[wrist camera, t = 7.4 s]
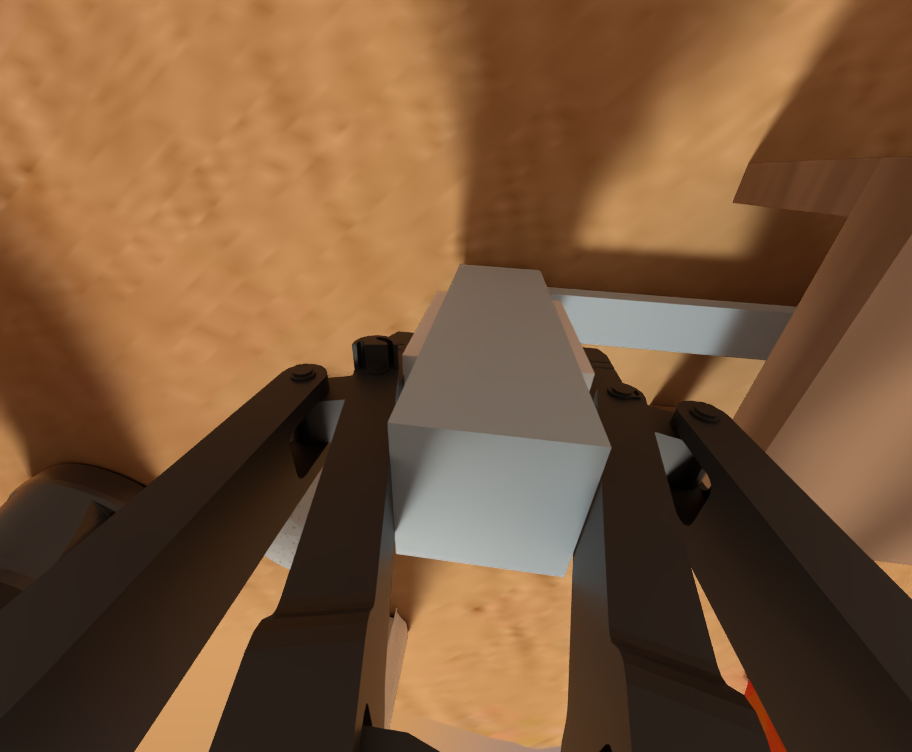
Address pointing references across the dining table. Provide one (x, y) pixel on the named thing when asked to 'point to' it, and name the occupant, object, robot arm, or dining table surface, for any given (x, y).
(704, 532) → the robot arm
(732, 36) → the dining table surface
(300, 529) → the ceramic mug
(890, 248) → the walnut table
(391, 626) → the paper towel roll
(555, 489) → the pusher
